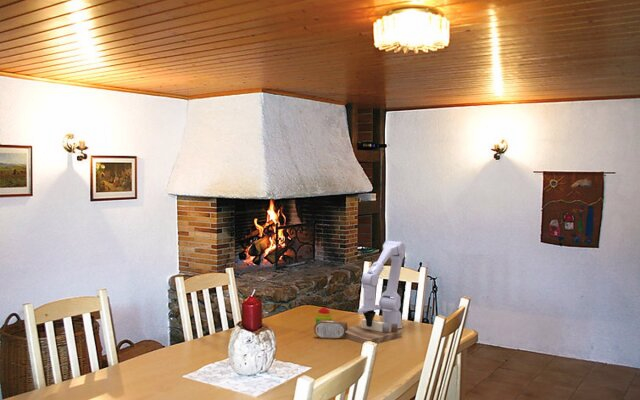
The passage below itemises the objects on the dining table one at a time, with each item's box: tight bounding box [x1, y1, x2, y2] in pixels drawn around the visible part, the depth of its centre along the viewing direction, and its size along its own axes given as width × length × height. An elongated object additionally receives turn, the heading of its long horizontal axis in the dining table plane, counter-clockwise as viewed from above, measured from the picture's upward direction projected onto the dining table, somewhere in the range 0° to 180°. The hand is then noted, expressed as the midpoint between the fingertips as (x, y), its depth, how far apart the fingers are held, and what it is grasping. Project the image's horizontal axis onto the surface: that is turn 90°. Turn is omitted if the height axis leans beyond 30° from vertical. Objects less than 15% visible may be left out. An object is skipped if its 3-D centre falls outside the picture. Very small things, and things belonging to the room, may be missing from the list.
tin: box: [313, 320, 346, 340], centre depth 280 cm, size 15×3×8 cm, turn 84°
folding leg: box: [361, 318, 389, 333], centre depth 284 cm, size 15×3×4 cm, turn 50°
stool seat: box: [341, 320, 403, 345], centre depth 283 cm, size 22×22×6 cm
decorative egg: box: [315, 307, 333, 324], centre depth 299 cm, size 8×8×10 cm
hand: (369, 326), depth 284 cm, fingers closed
